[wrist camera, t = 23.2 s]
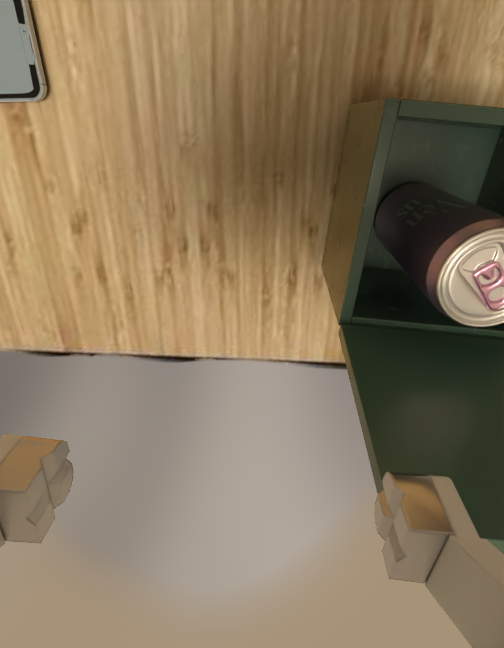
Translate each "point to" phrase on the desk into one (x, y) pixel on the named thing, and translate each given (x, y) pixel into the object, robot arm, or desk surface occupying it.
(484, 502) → the lid
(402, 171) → the dark green box
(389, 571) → the robot arm
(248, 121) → the desk surface
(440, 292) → the beverage can
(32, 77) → the smartphone
